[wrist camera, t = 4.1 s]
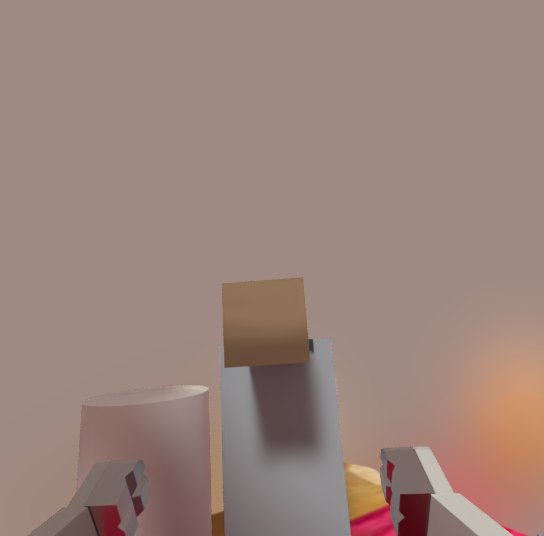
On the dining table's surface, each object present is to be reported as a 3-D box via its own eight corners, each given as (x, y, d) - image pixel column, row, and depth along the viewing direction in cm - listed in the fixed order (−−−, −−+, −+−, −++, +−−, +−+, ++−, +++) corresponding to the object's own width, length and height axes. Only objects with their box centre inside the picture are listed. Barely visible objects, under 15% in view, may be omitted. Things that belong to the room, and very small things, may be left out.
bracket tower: (379, 812, 17) (330, 338, 23) (232, 812, 18) (219, 345, 23) (344, 621, 29) (317, 338, 34) (256, 623, 29) (243, 343, 35)
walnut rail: (310, 362, 15) (302, 277, 16) (224, 368, 15) (221, 283, 16) (300, 349, 33) (297, 310, 34) (262, 351, 34) (259, 313, 34)
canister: (201, 655, 27) (197, 399, 31) (32, 676, 26) (53, 411, 30) (219, 551, 40) (215, 382, 44) (108, 563, 39) (115, 389, 44)
